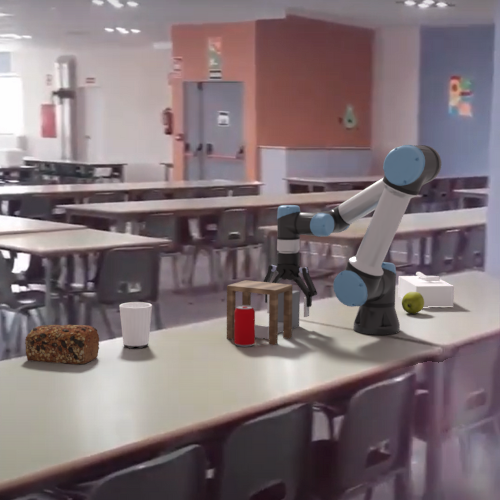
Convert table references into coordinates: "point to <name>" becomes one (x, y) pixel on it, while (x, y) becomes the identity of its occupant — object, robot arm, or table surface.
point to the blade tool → (281, 315)
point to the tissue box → (427, 289)
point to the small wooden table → (273, 292)
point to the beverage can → (244, 326)
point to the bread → (62, 344)
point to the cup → (135, 323)
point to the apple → (413, 302)
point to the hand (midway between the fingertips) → (288, 314)
